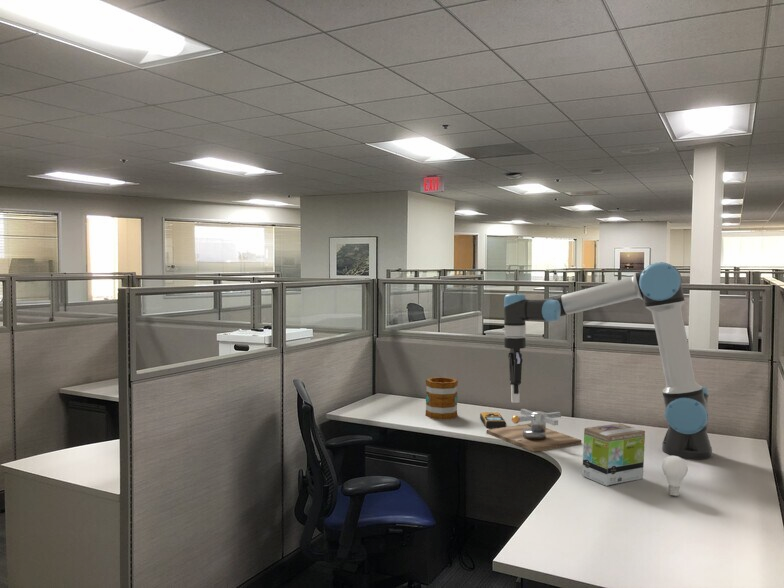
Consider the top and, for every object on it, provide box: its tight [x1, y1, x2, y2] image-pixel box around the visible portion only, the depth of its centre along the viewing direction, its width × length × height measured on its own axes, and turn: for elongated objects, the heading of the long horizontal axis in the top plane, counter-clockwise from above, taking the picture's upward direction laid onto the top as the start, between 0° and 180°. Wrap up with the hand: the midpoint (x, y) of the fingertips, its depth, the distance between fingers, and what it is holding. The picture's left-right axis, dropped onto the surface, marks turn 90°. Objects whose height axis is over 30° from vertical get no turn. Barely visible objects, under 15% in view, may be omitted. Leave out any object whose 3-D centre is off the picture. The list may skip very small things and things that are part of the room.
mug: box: [425, 376, 459, 421], centre depth 254 cm, size 20×14×15 cm
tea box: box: [581, 422, 646, 487], centre depth 177 cm, size 15×10×15 cm, turn 117°
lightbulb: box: [661, 455, 689, 497], centre depth 163 cm, size 6×6×11 cm
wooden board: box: [486, 422, 582, 453], centre depth 219 cm, size 26×22×2 cm
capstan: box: [511, 408, 562, 440], centre depth 215 cm, size 21×19×8 cm
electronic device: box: [479, 411, 507, 429], centre depth 240 cm, size 8×16×3 cm, turn 1°
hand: (515, 402), depth 216 cm, fingers closed
